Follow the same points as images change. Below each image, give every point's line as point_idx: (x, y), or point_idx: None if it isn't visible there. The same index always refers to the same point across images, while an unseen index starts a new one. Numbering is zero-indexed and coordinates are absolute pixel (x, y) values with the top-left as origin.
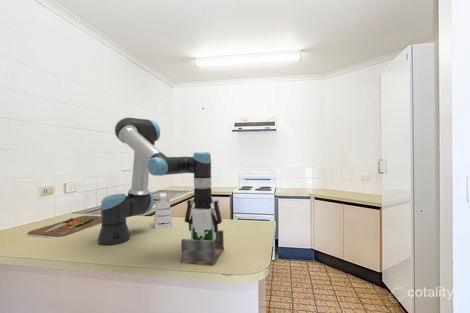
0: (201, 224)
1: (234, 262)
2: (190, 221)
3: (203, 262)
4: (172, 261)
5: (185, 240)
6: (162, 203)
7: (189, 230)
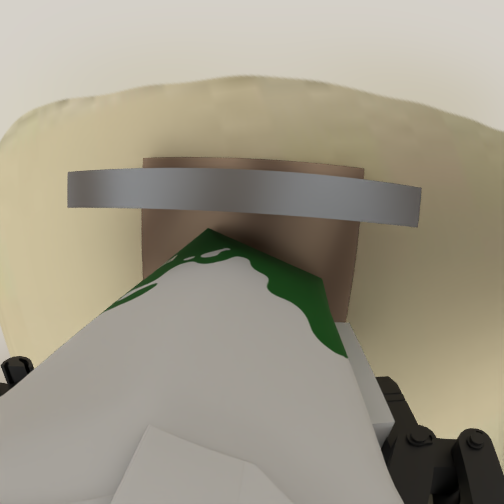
0: (142, 330)
1: (65, 217)
2: (412, 453)
3: (205, 157)
4: None
5: (378, 181)
6: None
7: (389, 379)
